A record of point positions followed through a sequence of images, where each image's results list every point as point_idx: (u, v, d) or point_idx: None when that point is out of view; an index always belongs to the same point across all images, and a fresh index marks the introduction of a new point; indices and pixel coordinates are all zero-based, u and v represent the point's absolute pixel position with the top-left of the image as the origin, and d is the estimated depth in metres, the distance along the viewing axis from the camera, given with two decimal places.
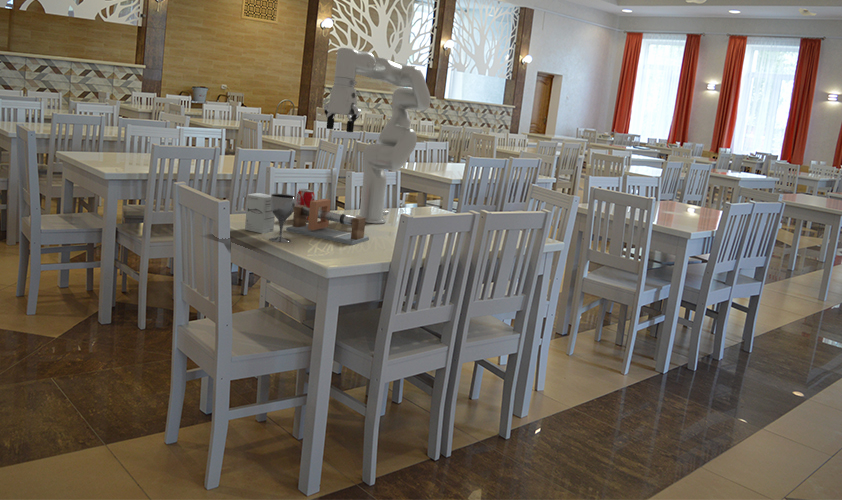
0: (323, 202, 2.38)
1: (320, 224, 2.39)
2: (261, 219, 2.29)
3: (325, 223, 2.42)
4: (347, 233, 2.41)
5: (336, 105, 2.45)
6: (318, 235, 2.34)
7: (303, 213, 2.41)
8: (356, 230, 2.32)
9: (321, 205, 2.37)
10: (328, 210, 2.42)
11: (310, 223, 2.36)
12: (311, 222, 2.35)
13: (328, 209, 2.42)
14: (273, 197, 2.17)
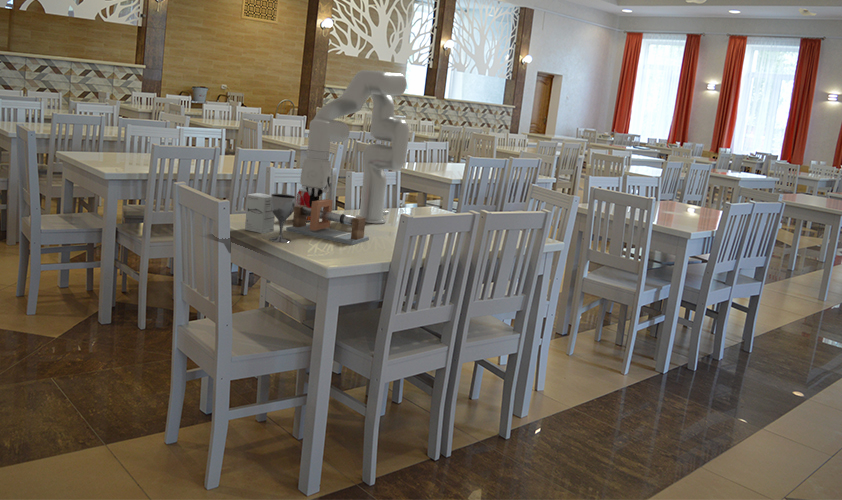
0: (325, 202, 2.38)
1: (322, 224, 2.39)
2: (261, 219, 2.29)
3: (327, 223, 2.42)
4: (347, 233, 2.41)
5: None
6: (318, 235, 2.34)
7: (303, 213, 2.41)
8: (356, 230, 2.32)
9: (323, 205, 2.37)
10: (330, 210, 2.42)
11: (312, 223, 2.35)
12: (313, 222, 2.35)
13: (330, 209, 2.42)
14: (273, 197, 2.17)
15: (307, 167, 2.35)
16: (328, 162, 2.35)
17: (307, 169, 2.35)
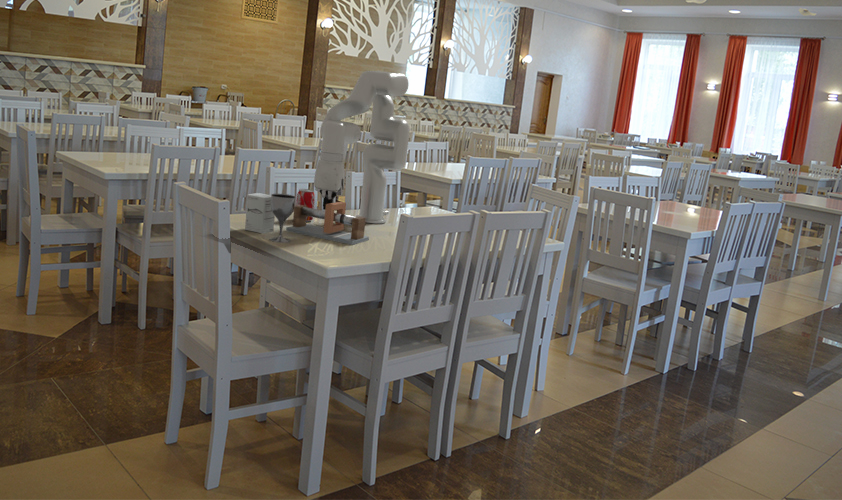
0: (338, 205, 2.36)
1: (335, 227, 2.37)
2: (261, 219, 2.29)
3: (340, 226, 2.40)
4: (347, 233, 2.41)
5: None
6: (318, 235, 2.34)
7: (303, 213, 2.41)
8: (356, 230, 2.32)
9: (337, 208, 2.35)
10: (343, 213, 2.40)
11: (326, 226, 2.33)
12: (327, 225, 2.33)
13: (343, 212, 2.40)
14: (273, 197, 2.17)
15: (321, 170, 2.33)
16: (342, 165, 2.32)
17: (321, 171, 2.33)
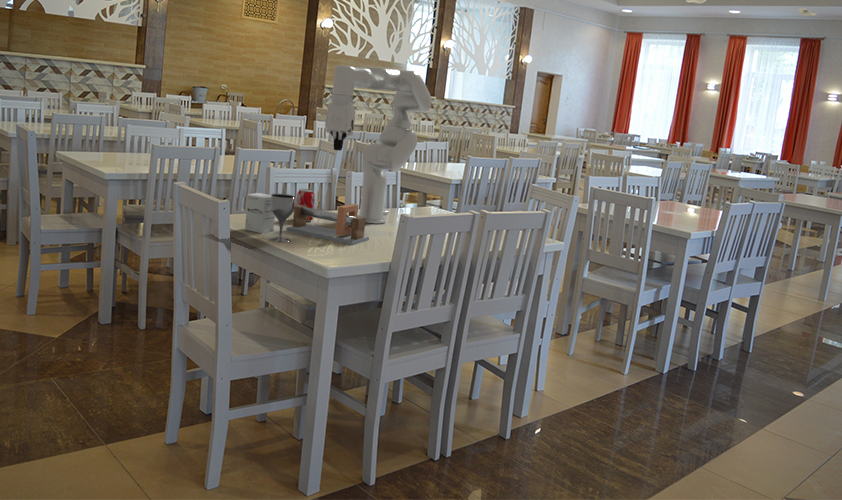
0: (351, 207, 2.34)
1: (348, 230, 2.35)
2: (261, 219, 2.29)
3: None
4: None
5: None
6: (318, 235, 2.34)
7: (303, 213, 2.41)
8: (356, 230, 2.32)
9: (349, 210, 2.33)
10: (355, 215, 2.38)
11: (338, 229, 2.32)
12: (339, 228, 2.31)
13: (355, 214, 2.38)
14: (273, 197, 2.17)
15: (332, 111, 2.46)
16: (352, 106, 2.45)
17: (332, 113, 2.46)
